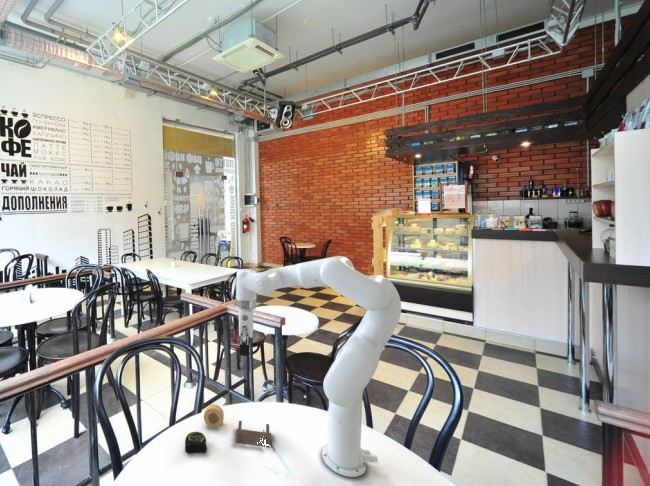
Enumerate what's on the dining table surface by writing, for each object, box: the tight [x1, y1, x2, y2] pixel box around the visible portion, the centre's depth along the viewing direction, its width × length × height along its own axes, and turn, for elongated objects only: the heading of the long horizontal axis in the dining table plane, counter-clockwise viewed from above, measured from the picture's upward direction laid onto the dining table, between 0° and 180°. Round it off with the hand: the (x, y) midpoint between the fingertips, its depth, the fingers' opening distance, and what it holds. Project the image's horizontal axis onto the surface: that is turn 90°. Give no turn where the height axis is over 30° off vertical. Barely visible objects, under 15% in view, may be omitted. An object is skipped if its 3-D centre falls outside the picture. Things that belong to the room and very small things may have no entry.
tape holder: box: [234, 420, 273, 448], centre depth 110 cm, size 12×7×4 cm, turn 81°
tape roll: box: [203, 404, 225, 427], centre depth 118 cm, size 7×3×7 cm
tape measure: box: [184, 431, 207, 454], centre depth 106 cm, size 7×7×4 cm
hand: (244, 349), depth 121 cm, fingers open, 9 cm apart
